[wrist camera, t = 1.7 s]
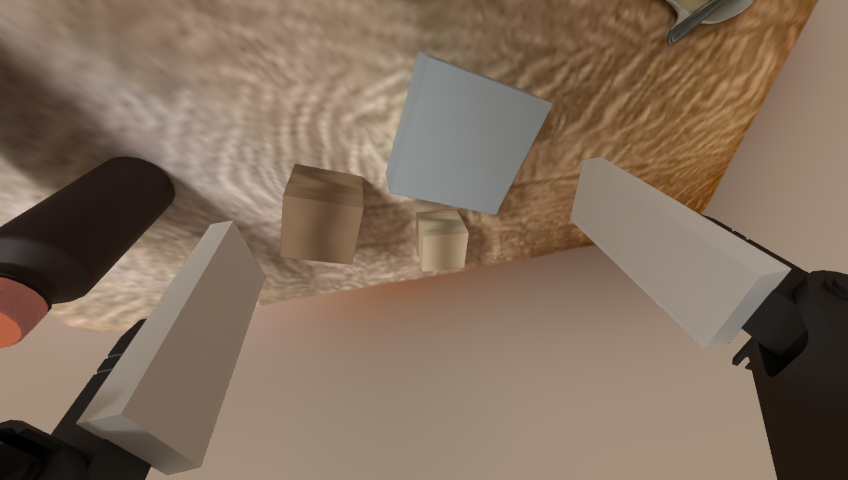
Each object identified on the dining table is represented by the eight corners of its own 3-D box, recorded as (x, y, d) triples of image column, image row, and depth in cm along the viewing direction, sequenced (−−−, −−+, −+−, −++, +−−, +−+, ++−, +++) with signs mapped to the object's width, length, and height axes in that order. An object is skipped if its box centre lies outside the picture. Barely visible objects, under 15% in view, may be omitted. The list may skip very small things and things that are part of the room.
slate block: (385, 171, 40) (389, 193, 35) (418, 50, 33) (429, 57, 28) (480, 193, 45) (495, 215, 40) (527, 91, 37) (553, 103, 33)
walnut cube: (291, 219, 41) (279, 257, 35) (295, 163, 37) (283, 195, 31) (352, 227, 44) (351, 264, 38) (362, 176, 40) (363, 208, 33)
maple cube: (415, 245, 48) (422, 271, 43) (415, 212, 44) (423, 236, 40) (453, 242, 49) (463, 267, 44) (456, 209, 45) (468, 233, 41)
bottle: (149, 148, 33) (-35, 274, 18) (189, 202, 38) (70, 342, 22) (85, 163, 33) (-159, 304, 17) (133, 215, 37) (-29, 368, 22)
